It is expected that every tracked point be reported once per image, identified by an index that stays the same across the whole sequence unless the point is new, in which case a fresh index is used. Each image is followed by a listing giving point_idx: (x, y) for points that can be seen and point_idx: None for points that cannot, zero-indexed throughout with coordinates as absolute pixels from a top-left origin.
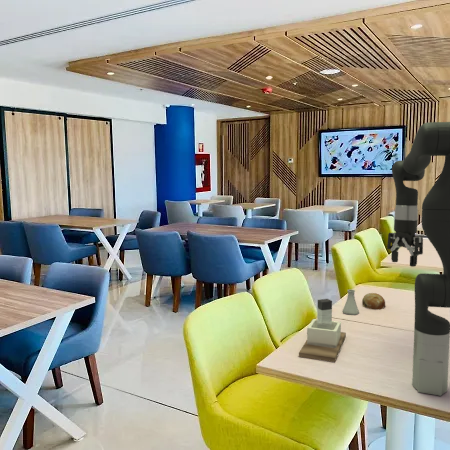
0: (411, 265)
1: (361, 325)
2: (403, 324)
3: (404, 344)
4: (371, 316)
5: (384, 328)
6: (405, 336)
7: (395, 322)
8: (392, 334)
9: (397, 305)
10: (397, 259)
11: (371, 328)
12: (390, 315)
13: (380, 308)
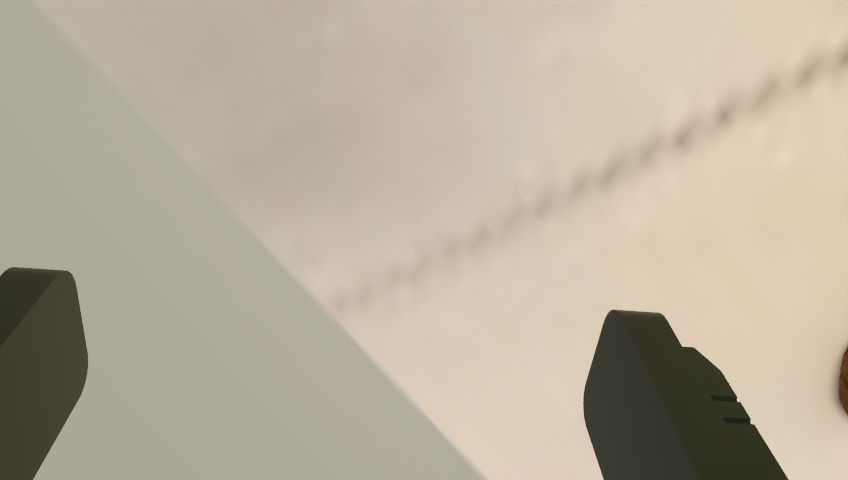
0: (7, 277)
1: (763, 32)
2: (588, 274)
3: (356, 11)
4: (812, 223)
5: (620, 125)
6: (448, 129)
7: (641, 262)
8: (519, 85)
9: (800, 472)
10: (596, 437)
11: (678, 49)
12: (734, 327)
13: (844, 363)
